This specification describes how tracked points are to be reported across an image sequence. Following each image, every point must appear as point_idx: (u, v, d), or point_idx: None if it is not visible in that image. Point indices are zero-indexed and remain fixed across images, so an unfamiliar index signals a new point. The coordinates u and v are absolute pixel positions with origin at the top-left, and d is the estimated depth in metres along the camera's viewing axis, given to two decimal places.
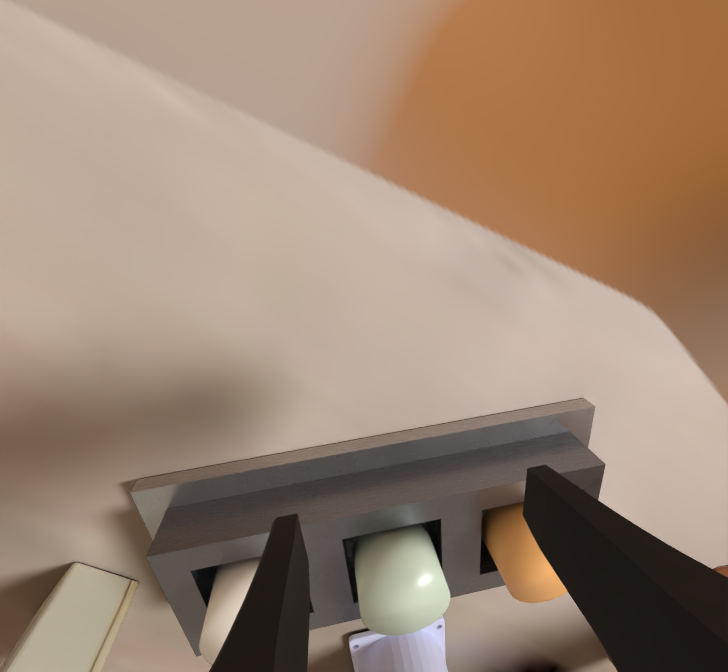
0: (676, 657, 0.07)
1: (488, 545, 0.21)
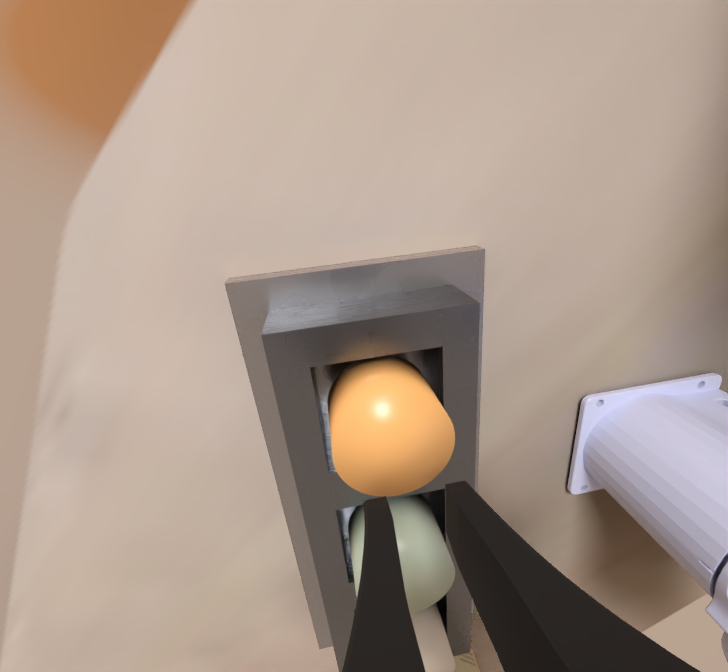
0: None
1: None
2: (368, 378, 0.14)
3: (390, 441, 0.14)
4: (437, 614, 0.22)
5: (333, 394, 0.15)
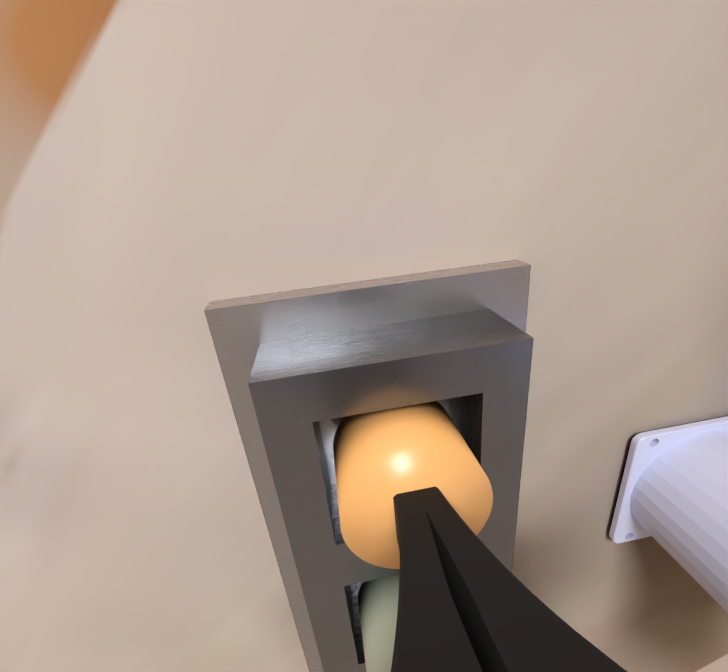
0: None
1: None
2: (384, 424, 0.12)
3: None
4: None
5: (340, 440, 0.13)
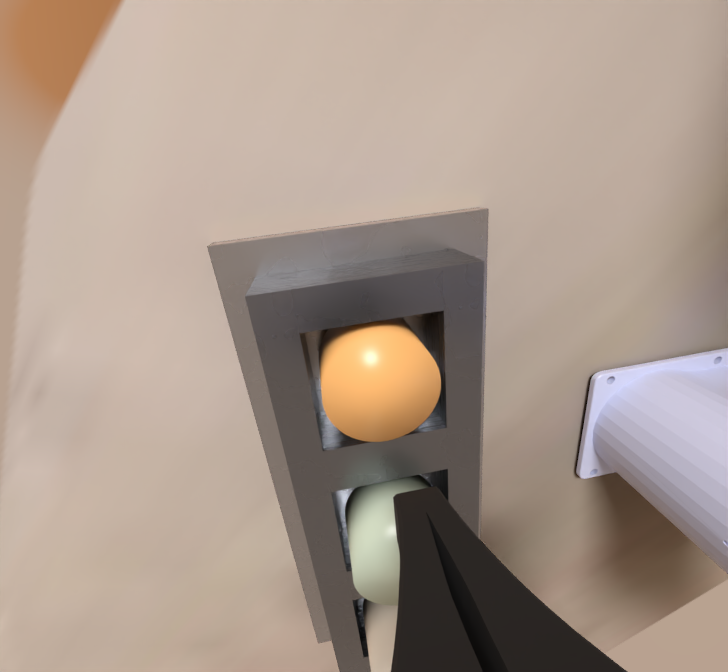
0: None
1: None
2: (356, 326, 0.15)
3: (377, 384, 0.14)
4: None
5: (323, 345, 0.16)
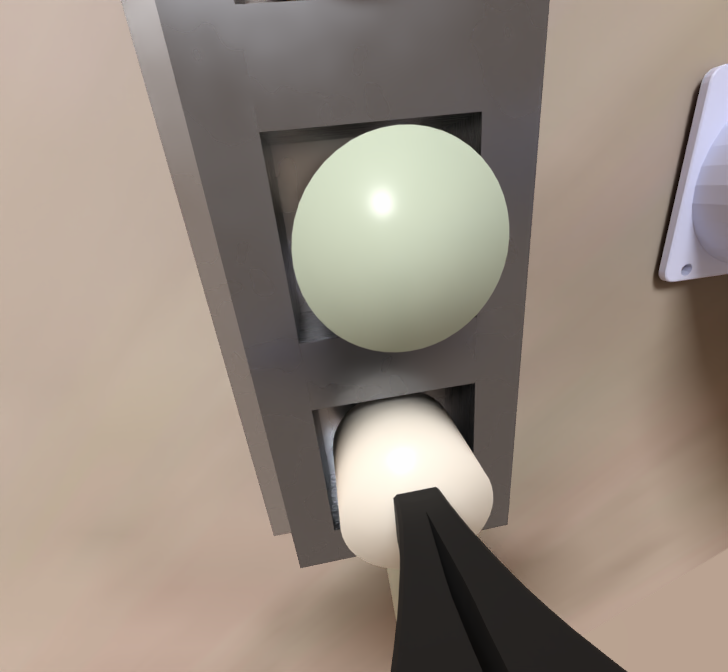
0: None
1: None
2: None
3: None
4: (458, 430, 0.13)
5: None
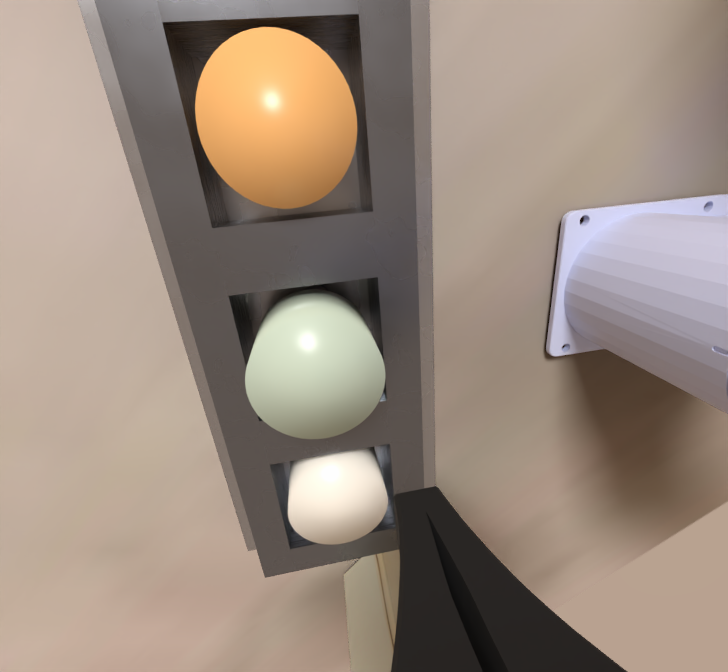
0: None
1: None
2: None
3: (271, 111, 0.11)
4: (372, 452, 0.19)
5: None
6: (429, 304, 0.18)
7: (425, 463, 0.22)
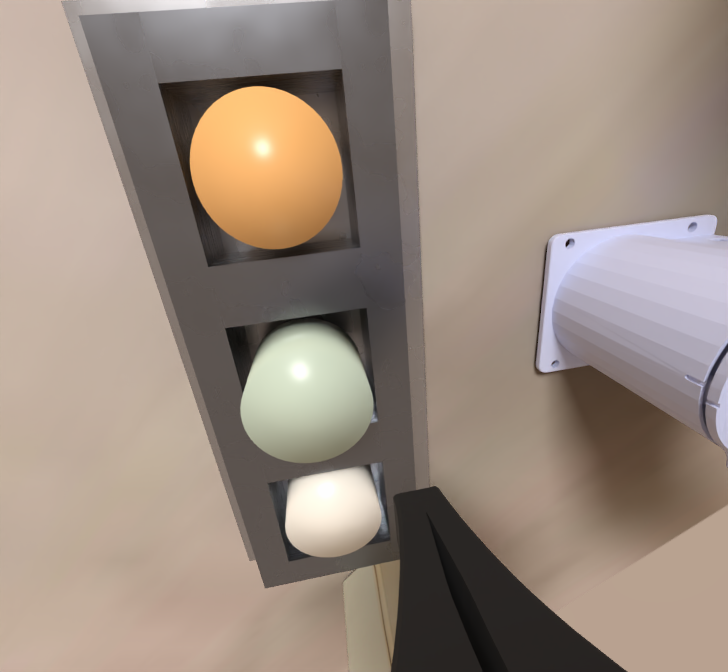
0: None
1: None
2: None
3: (261, 161, 0.12)
4: (366, 468, 0.20)
5: None
6: (419, 326, 0.19)
7: (419, 476, 0.22)
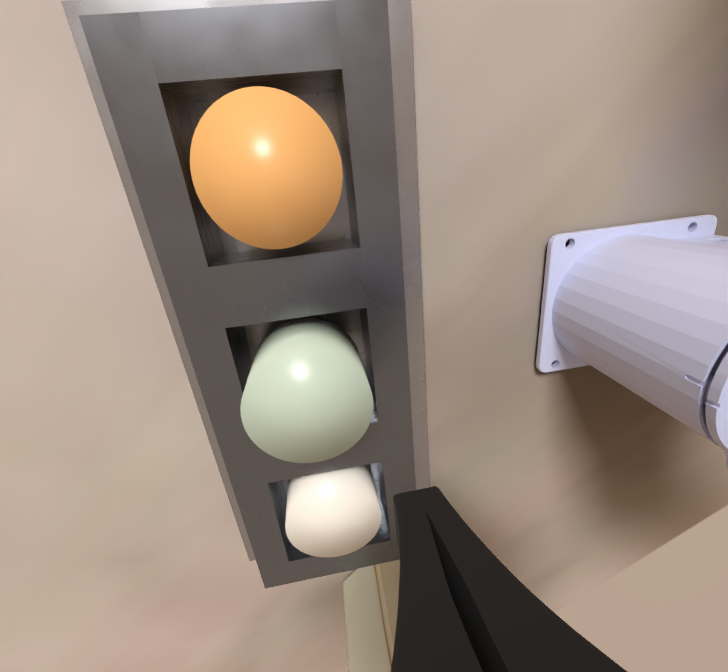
0: None
1: None
2: None
3: (261, 161, 0.12)
4: (366, 468, 0.20)
5: None
6: (419, 326, 0.19)
7: (419, 476, 0.22)
